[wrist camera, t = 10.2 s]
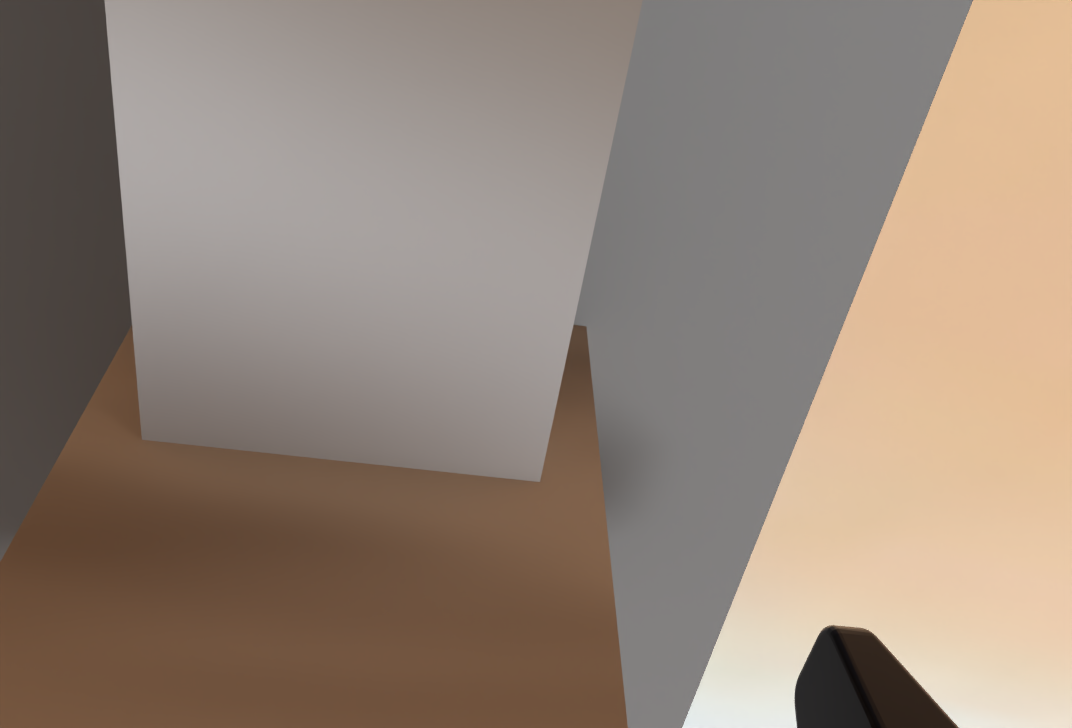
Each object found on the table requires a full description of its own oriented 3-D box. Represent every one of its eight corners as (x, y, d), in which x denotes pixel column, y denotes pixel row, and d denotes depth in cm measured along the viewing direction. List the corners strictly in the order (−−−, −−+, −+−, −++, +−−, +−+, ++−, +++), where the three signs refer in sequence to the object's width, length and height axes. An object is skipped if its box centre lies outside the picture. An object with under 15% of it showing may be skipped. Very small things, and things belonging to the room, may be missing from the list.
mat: (617, 843, 16) (620, 880, 16) (31, 801, 15) (15, 839, 15) (1084, -382, 7) (1126, -383, 7) (-293, -676, 6) (-362, -700, 6)
